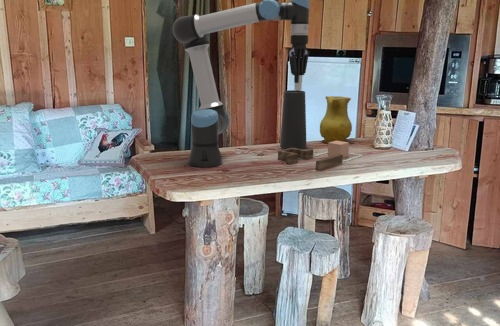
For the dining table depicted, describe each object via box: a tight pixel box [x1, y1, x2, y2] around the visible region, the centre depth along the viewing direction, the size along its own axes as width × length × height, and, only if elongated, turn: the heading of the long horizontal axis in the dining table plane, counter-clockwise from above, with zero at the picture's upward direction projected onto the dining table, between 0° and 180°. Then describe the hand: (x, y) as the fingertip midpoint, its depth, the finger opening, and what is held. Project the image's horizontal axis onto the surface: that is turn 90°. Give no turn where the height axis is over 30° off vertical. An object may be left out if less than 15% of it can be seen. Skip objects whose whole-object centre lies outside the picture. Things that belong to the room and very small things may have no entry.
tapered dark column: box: [279, 89, 307, 150], centre depth 249 cm, size 14×14×29 cm
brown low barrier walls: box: [277, 148, 344, 172], centre depth 221 cm, size 26×18×4 cm
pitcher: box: [319, 95, 353, 144], centre depth 264 cm, size 17×19×25 cm
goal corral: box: [313, 151, 364, 163], centre depth 233 cm, size 17×16×1 cm
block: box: [327, 141, 350, 159], centre depth 231 cm, size 7×7×7 cm
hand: (297, 90), depth 214 cm, fingers closed
